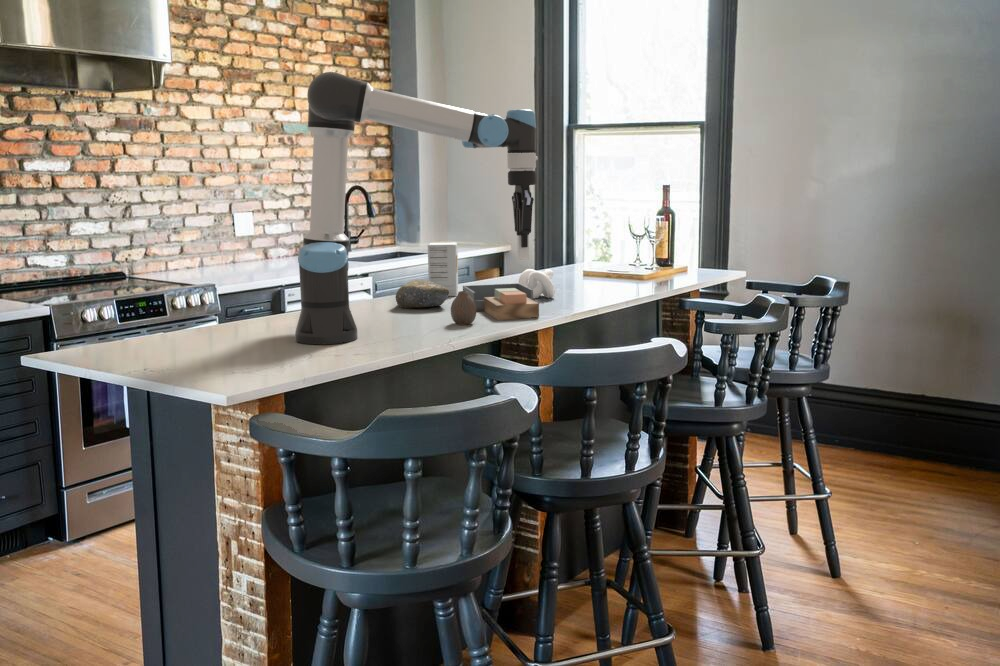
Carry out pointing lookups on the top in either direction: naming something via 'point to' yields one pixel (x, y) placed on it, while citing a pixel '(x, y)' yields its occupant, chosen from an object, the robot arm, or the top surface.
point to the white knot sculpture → (538, 282)
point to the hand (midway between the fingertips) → (523, 259)
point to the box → (492, 292)
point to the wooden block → (510, 309)
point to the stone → (421, 294)
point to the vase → (463, 309)
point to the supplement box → (444, 265)
